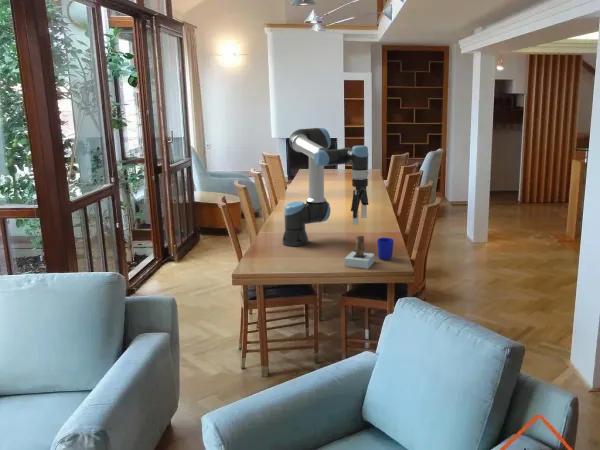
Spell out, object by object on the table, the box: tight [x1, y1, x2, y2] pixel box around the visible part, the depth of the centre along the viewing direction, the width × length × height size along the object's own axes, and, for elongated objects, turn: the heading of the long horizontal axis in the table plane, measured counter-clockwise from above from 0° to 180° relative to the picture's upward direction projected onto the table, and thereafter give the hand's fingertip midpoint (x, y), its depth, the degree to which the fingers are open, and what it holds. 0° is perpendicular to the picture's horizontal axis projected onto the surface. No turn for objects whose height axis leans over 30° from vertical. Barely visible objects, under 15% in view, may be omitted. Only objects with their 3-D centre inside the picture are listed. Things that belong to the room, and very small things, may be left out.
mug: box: [377, 237, 395, 261], centre depth 266 cm, size 8×12×10 cm
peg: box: [355, 235, 365, 258], centre depth 256 cm, size 4×4×14 cm
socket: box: [344, 251, 376, 270], centre depth 257 cm, size 12×12×4 cm
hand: (359, 221), depth 253 cm, fingers open, 13 cm apart
